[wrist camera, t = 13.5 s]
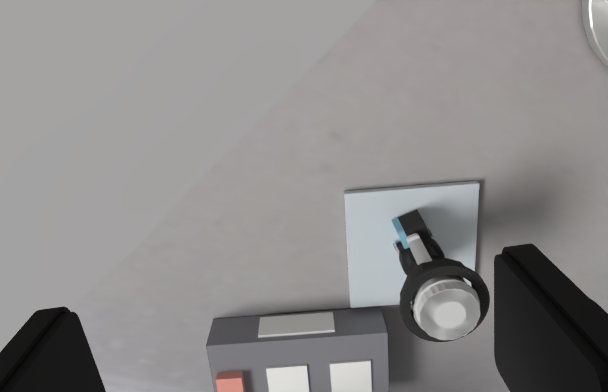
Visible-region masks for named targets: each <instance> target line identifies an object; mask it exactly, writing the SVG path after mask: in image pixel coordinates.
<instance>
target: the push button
mask: <svg viewBox="0 0 608 392" xmlns="http://www.w3.org/2000/svg"><path fill="white" fill-rule="evenodd" d="M391 221H392V223H393V226H394V228H395V229H396V231H397V233H398V236H399V238H400V240H401V242H399V243H396V245H397V248H398V250H396V247H395V245H394V243H393V246H394V248H395V251H396V253H397V255H398V257H399V261H400V264H401V266H402V269H403V271H404V273H405V274H406V275H407V277H406V280H405V282H404V285H403V287H402V289H401V292H400V305H399V306H400V313H401V316H402V319H403V321H404V323H405V325H406V326H407V328H408V329H409V330H410V331H411V332H412V333H413V334H415V335H416V336H418V337H420V338H422V339H425V340H428V341H433V342H447V341H452V340H456V339H459V338H462V337H464V336H466V335H468V334H469V333H471V332H472V331H473V330H475V329H476V328H477V327H478V326H479V325H480V324H481V322H482V321H483V320H484V318H485V316H486V314H487V312H488V308H489V302H490V298H489V291H488V289H487V286H486V284H485V283H484V281H483V280H482V278H481V277H480V276H479V275H478V274H477V273H476V272H475V271H473V270H472V269H470V268H468V267H465V266H464V265H463V263H462V262H460V261H456V260H453V259H449V258H445V256H444V253H443V251H442V249H441V248H440V246H439V244H438V243H437V242H436V240H435V238H434V236H433V234H432V232H431V231H430V229H429V228H428V229H427V226H426V224H425V222H424V220H423V219H422V217H421V215H420V214H419V212H418V210H417V209H416V210H414V211H412V212H409V213H407V214H405V215H402V216H400V217H397V218H395V219H393V220H391ZM428 230H429V231H428ZM429 232H430V234H429ZM430 235H431V236H430ZM464 278H465V279H467V280H468V281H470V282H471V286H470V285H469V284H467V283H466V282H465V280H464ZM411 302H412V304H413V307H414V308H413V311H414V312H413V311H412V310H411V309H410V305H411Z"/></svg>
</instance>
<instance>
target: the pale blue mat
mask: <svg viewBox="0 0 608 392" xmlns="http://www.w3.org/2000/svg"><path fill="white" fill-rule="evenodd" d="M344 200H345V219H346V237H347V256H348V274H349V293H350V306H351V308H356V307H369V306H383V305H396V304H400V292H401V289H402V287H403V285H404V282H405V280H406V277H407V275H406V274H405V273H404V271H403V269H402V266H401V264H400V261H399V257H398V255H397V253H396V251H395V248H394V246H393V243H394V245H395V247H396V250H398V248H397V245H396V243H399V242H401V240H400V238H399V236H398V233H397V231H396V229H395V228H394V226H393V223H392V221H391V220H393V219H395V218H397V217H400V216H402V215H405V214H407V213H409V212H412V211H414V210H416V209H417V210H418V212H419V214H420V215H421V217H422V219H423V220H424V222H425V224H426V226H427V229H428V228H429V229H430V231H431V232H432V234H433V236H434V238H435V240H436V242H437V243H438V244H439V246H440V248H441V249H442V251H443V253H444V256H445V258H449V259H453V260H456V261H460V262H462V263H463V265H464V266H465V267H468V268H470V269H472V270H473V271H475V258H476V239H477V220H478V200H479V183H478V182H477V181H467V182H454V183H442V184H429V185H416V186H404V187H391V188H378V189H366V190H353V191H344ZM428 231H429V230H428ZM429 234H430V232H429ZM430 236H431V235H430ZM464 280H465V282H466V283H467V284H469V285H470V286H471V282H470V281H468V280H467V279H465V278H464ZM411 303H412V302H411Z"/></svg>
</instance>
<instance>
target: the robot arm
mask: <svg viewBox="0 0 608 392" xmlns="http://www.w3.org/2000/svg"><path fill="white" fill-rule="evenodd" d="M582 18H583V23H584V28H585V32H586V36H587V38H588V41H589V43H590V45H591V47H592V49H593V51H594V53H595V54H596V55H597V57H598V58H599V59H600V60H601V62H602V63H603V64H604V65H605V66H607V67H608V0H582ZM494 355H495V362H496V366H497V368H498V371H499V373H500V375H501V376H502V378H503V380H504V382H505V383H506V385H507V387H508V389H509V390H510V392H608V314H607V313H606V312H605V311H604V310H603V309H602V308H601V307H600V306H599V305H598V304H597V303H596V302H594V301H593V300H591V299H589V298H588V297H587V296H586V295H585V294H584V293H583V292H582V291H581V290H580V289H579V288H578V287H577V286H576V285H575V284H574V283H573V282H572V281H571V280H570V279H569V278H568V277H567V276H566V275H564V274H563V273H562V272H561V271H560V270H559V269H558V268H557V267H556V266H555V265H554V264H553V263H552V262H551V261H550V260H549V259H548V258H547V257H546V256H545V255H544V254H543V253H542V252H541V251H540V250H539V249H538V248H537V247H535V246H534V245H533V244H524V245H517V246H509V247H504V248H503V250H502V254H500V255H496V256H495V259H494ZM0 392H106V391H105V388H104V385H103V383H102V380H101V377H100V374H99V372H98V369H97V366H96V364H95V361H94V358H93V355H92V353H91V350H90V347H89V344H88V342H87V339H86V336H85V333H84V331H83V328H82V325H81V322H80V320H79V317H78V315H77V314H76V313H75V312H70V310H69V309H68V308H66V307H58V308H50V309H43V310H38V311H36V312H35V313H34V314H33V315H32V316H31V317H30V318H29V320H28V321H27V322H26V323H25V324H24V325H23V327H22V328H21V329H20V330H19V331H18V332H17V334H16V335H15V336H14V337H13V338H12V340H11V341H10V342H9V343H8V344H7V345H6V346H5V347H4V349H3V350H2V351H1V352H0Z"/></svg>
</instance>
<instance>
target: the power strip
mask: <svg viewBox="0 0 608 392" xmlns="http://www.w3.org/2000/svg"><path fill="white" fill-rule="evenodd" d="M206 349H207V354H208V360H209V365H210V371H211V376H212V381H213V387H214V392H389V375H388V332H387V329H386V325H385V322H384V318H383V314H382V311H381V307H369V308H355V309H342V310H328V311H315V312H301V313H288V314H275V315H261V316H248V317H234V318H221V319H213V322H212V326H211V330H210V333H209V337H208V340H207V344H206Z"/></svg>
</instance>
